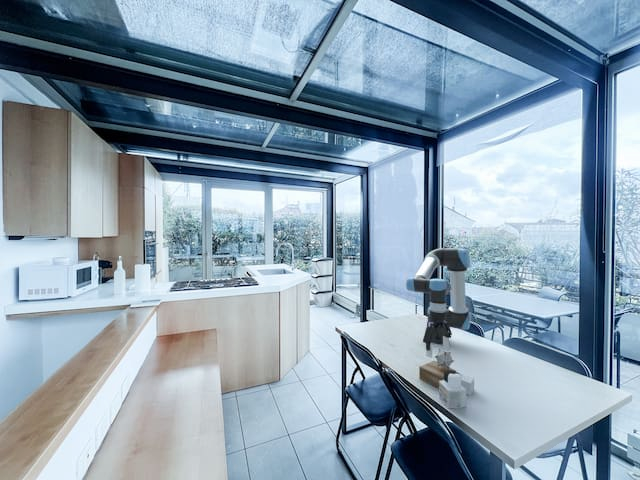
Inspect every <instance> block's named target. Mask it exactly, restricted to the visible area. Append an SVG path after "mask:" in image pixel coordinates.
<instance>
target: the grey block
mask: <svg viewBox="0 0 640 480" xmlns="http://www.w3.org/2000/svg"><path fill="white" fill-rule="evenodd" d="M459 374H460V375H461V385H462V386H463V387H464V388H465V389H466V396H469V397H472V394H473V393H474V392H475V378H474V377H472V376H470V375H466V374H463V373H459Z"/></svg>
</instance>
